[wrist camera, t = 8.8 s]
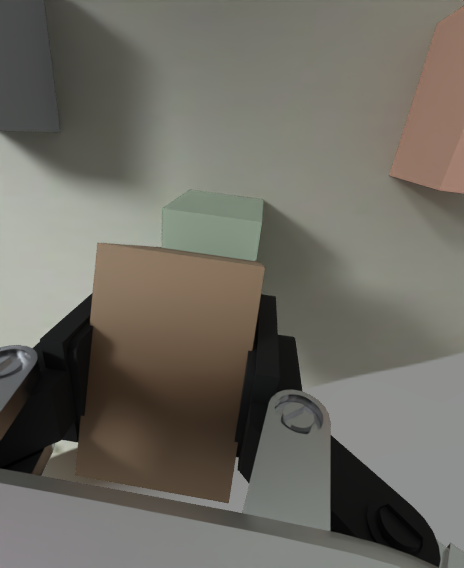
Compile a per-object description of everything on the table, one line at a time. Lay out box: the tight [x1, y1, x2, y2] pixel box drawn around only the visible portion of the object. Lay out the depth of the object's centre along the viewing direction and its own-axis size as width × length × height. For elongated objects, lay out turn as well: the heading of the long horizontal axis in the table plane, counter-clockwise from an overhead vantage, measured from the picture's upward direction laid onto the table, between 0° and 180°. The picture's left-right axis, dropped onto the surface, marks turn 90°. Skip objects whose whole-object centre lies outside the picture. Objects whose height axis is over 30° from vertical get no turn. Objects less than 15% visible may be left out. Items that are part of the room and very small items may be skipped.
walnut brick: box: [75, 243, 265, 503], centre depth 10 cm, size 6×4×5 cm, turn 173°
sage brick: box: [162, 190, 263, 261], centre depth 16 cm, size 6×4×5 cm, turn 173°
